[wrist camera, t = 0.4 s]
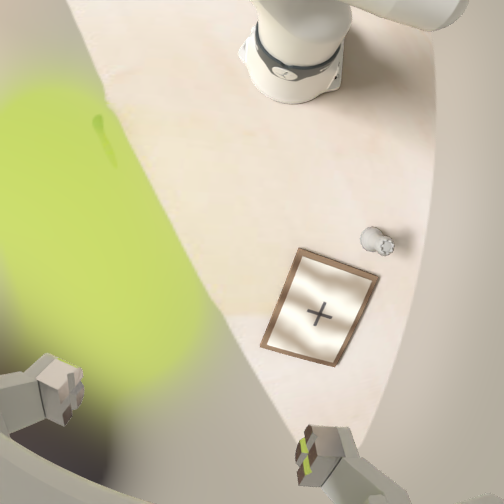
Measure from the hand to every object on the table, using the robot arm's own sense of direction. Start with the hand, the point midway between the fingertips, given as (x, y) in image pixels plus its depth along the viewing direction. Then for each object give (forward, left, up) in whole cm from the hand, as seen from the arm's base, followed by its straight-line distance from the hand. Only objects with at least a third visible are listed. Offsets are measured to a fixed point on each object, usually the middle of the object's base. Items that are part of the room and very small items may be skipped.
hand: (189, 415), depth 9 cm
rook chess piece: (-6, +22, -46) cm, 51 cm away
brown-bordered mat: (+10, +18, -45) cm, 50 cm away
